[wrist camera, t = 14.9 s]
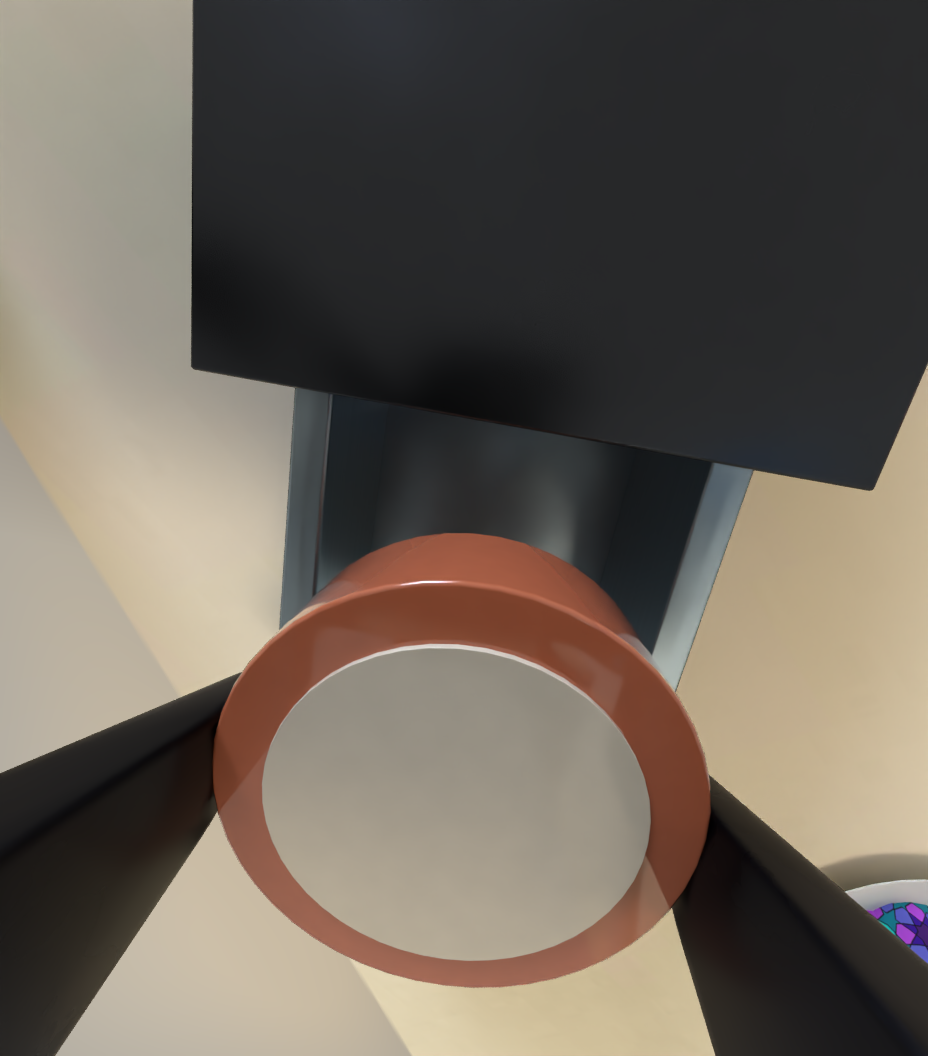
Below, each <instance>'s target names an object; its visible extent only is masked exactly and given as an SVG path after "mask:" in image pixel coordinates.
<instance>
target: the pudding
mask: <svg viewBox="0 0 928 1056" xmlns="http://www.w3.org/2000/svg"><path fill="white" fill-rule="evenodd" d="M845 893H847V894H848V895H849V896H850V897H851V898H852V899H854V900H855V901H856V902H857V903H858V904H859V905H861V906H862V907H863V908H864V909H865V910H866V911H868V912H869V913H870V914H871V915H872V916H873V917H874V918H876V919H877V920H878V921H879V922H880V923H881V924H883V925H884V926H885V927H886V928H887V929H888V930H890V931H891V932H892V933H893V934H894V935H895V936H897V937H898V938H899V939H900V940H901V941H902V942H903V943H905V944H906V945H907V946H908V947H909V948H910V949H912V950H913V951H914V952H915V953H916V954H917V955H919V956H920V957H921V958H922V959H923V960H924V961H926V962H927V963H928V880H898V881H891V882H883V883H876V884H871V885H867V886H863V887H859V888H856V889H852V890H848V891H845Z"/></svg>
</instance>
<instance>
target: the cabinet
mask: <svg viewBox="0 0 928 1056" xmlns="http://www.w3.org/2000/svg"><path fill="white" fill-rule="evenodd" d="M927 364H928V0H193V75H192V306H191V367H192V368H193V369H195V370H200V371H206V372H211V373H217V374H222V375H228V376H233V377H239V378H244V379H250V380H256V381H261V382H267V383H272V384H278V385H283V386H289V387H294V388H300V389H306V390H311V391H317V392H322V393H328V394H333V395H339V396H345V397H350V398H356V399H361V400H367V401H372V402H378V403H383V404H389V405H395V406H400V407H406V408H411V409H417V410H422V411H428V412H433V413H439V414H445V415H450V416H456V417H461V418H467V419H472V420H478V421H484V422H489V423H495V424H500V425H506V426H511V427H517V428H522V429H528V430H534V431H539V432H545V433H550V434H556V435H561V436H567V437H572V438H578V439H584V440H589V441H595V442H600V443H606V444H611V445H617V446H622V447H628V448H634V449H639V450H645V451H650V452H656V453H661V454H667V455H673V456H678V457H684V458H689V459H695V460H700V461H706V462H711V463H717V464H723V465H728V466H734V467H739V468H745V469H750V470H756V471H761V472H767V473H773V474H778V475H784V476H789V477H795V478H800V479H806V480H812V481H817V482H823V483H828V484H834V485H839V486H845V487H850V488H856V489H862V490H867V491H870V490H873V489H874V487H875V485H876V483H877V480H878V478H879V476H880V473H881V471H882V469H883V466H884V464H885V462H886V459H887V457H888V455H889V452H890V450H891V448H892V446H893V443H894V441H895V439H896V436H897V434H898V432H899V429H900V427H901V425H902V422H903V420H904V418H905V415H906V413H907V411H908V408H909V406H910V404H911V401H912V399H913V397H914V394H915V392H916V390H917V388H918V385H919V383H920V381H921V378H922V376H923V374H924V371H925V369H926V367H927Z"/></svg>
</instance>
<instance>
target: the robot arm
mask: <svg viewBox="0 0 928 1056" xmlns="http://www.w3.org/2000/svg"><path fill="white" fill-rule="evenodd" d="M241 673H242V672H241ZM241 673H238V674H235V675H233V676H231V677H228V678H226V679H224V680H221V681H219V682H216V683H214V684H212V685H209V686H207V687H204V688H202V689H200V690H197V691H195V692H193V693H190V694H188V695H185V696H183V697H181V698H178V699H176V700H174V701H171V702H169V703H167V704H164V705H162V706H159V707H157V708H155V709H152V710H150V711H148V712H145V713H143V714H141V715H138V716H136V717H134V718H131V719H128V720H126V721H124V722H121V723H119V724H117V725H114V726H112V727H110V728H107V729H105V730H102V731H100V732H97V733H95V734H93V735H91V736H88V737H86V738H83V739H81V740H78V741H76V742H74V743H71V744H69V745H67V746H64V747H62V748H59V749H57V750H55V751H53V752H50V753H48V754H45V755H43V756H40V757H38V758H36V759H33V760H31V761H28V762H26V763H24V764H21V765H19V766H17V767H14V768H12V769H10V770H7V771H5V772H2V773H0V1056H55V1055H56V1054H57V1052H58V1050H59V1049H60V1047H61V1046H62V1045H63V1043H64V1042H65V1040H66V1038H67V1037H68V1036H69V1034H70V1033H71V1031H72V1030H73V1028H74V1027H75V1025H76V1024H77V1022H78V1021H79V1019H80V1018H81V1016H82V1015H83V1013H84V1012H85V1010H86V1009H87V1007H88V1006H89V1004H90V1003H91V1001H92V1000H93V998H94V997H95V995H96V994H97V992H98V991H99V989H100V988H101V986H102V985H103V983H104V982H105V980H106V979H107V977H108V976H109V974H110V973H111V972H112V970H113V968H114V967H115V966H116V964H117V963H118V961H119V959H120V958H121V957H122V955H123V954H124V952H125V951H126V949H127V948H128V946H129V945H130V943H131V942H132V940H133V938H134V937H135V936H136V934H137V933H138V931H139V930H140V928H141V927H142V925H143V924H144V922H145V921H146V919H147V918H148V916H149V915H150V913H151V912H152V910H153V909H154V907H155V906H156V904H157V903H158V901H159V900H160V898H161V897H162V895H163V894H164V892H165V891H166V889H167V888H168V886H169V885H170V883H171V882H172V880H173V879H174V877H175V876H176V874H177V873H178V871H179V870H180V869H181V867H182V866H183V864H184V863H185V861H186V859H187V858H188V857H189V855H190V854H191V852H192V851H193V849H194V847H195V846H196V845H197V843H198V841H199V840H200V839H201V837H202V835H203V834H204V832H205V831H206V829H207V827H208V826H209V825H210V823H211V821H212V820H213V818H214V816H215V814H216V813H217V806H216V801H215V797H214V792H213V747H214V738H215V734H216V730H217V727H218V723H219V719H220V716H221V712H222V709H223V707H224V705H225V702H226V700H227V698H228V696H229V694H230V691H231V689H232V687H233V685H234V684H235V682H236V681H237V679H238V678H239V676H240V675H241ZM708 775H709V774H708ZM709 780H710V809H711V813H710V820H709V827H708V833H707V840H706V843H705V846H704V849H703V852H702V855H701V857H700V860H699V862H698V865H697V867H696V869H695V872H694V874H693V876H692V878H691V880H690V882H689V884H688V886H687V888H686V889H685V891H684V892H683V893H682V895H681V896H680V897H679V899H678V900H677V901H676V903H675V904H674V906H673V907H672V909H673V914H674V918H675V922H676V925H677V929H678V932H679V936H680V940H681V943H682V946H683V950H684V953H685V956H686V959H687V963H688V966H689V969H690V973H691V976H692V979H693V983H694V986H695V989H696V993H697V996H698V999H699V1003H700V1006H701V1009H702V1013H703V1016H704V1019H705V1022H706V1026H707V1029H708V1032H709V1036H710V1039H711V1042H712V1046H713V1049H714V1052H715V1056H928V963H927V962H926V961H924V960H923V959H922V958H921V957H920V956H919V955H917V954H916V953H915V952H914V951H913V950H912V949H910V948H909V947H908V946H907V945H906V944H905V943H903V942H902V941H901V940H900V939H899V938H898V937H897V936H895V935H894V934H893V933H892V932H891V931H890V930H888V929H887V928H886V927H885V926H884V925H883V924H881V923H880V922H879V921H878V920H877V919H876V918H874V917H873V916H872V915H871V914H870V913H869V912H868V911H866V910H865V909H864V908H863V907H862V906H861V905H859V904H858V903H857V902H856V901H855V900H854V899H852V898H851V897H850V896H849V895H848V894H847V893H845V892H844V891H843V890H842V889H841V888H840V887H839V886H837V885H836V884H835V883H834V882H833V881H832V880H830V879H829V878H828V877H827V876H826V875H825V874H823V873H822V872H821V871H820V870H819V869H818V868H817V867H815V866H814V865H813V864H812V863H811V862H810V861H808V860H807V859H806V858H805V857H804V856H803V855H801V854H800V853H799V852H798V851H797V850H796V849H794V848H793V847H792V846H791V845H790V844H789V843H788V842H786V841H785V840H784V839H783V838H782V837H781V836H779V835H778V834H777V833H776V832H775V831H774V830H772V829H771V828H770V827H769V826H768V825H767V824H765V823H764V822H763V821H762V820H761V819H760V818H759V817H757V816H756V815H755V814H754V813H753V812H752V811H750V810H749V809H748V808H747V807H746V806H745V805H743V804H742V803H741V802H740V801H739V800H738V799H736V798H735V797H734V796H733V795H732V794H731V793H730V792H728V791H727V790H726V789H725V788H724V787H723V786H721V785H720V784H719V783H718V782H717V781H716V780H714V779H713V778H712V777H711V776H710V775H709Z"/></svg>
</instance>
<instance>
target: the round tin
mask: <svg viewBox="0 0 928 1056" xmlns="http://www.w3.org/2000/svg"><path fill="white" fill-rule="evenodd" d="M213 792H214V797H215V801H216V806H217V811H218V815H219V818H220V821H221V823H222V826H223V829H224V832H225V835H226V837H227V840H228V842H229V844H230V845H231V847H232V849H233V851H234V853H235V855H236V857H237V859H238V861H239V862H240V864H241V865H242V867H243V868H244V870H245V871H246V873H247V874H248V875H249V877H250V878H251V880H252V881H253V882H254V884H255V885H256V886H257V887H258V889H259V890H260V891H261V892H262V893H263V894H264V895H265V896H266V898H267V899H268V900H269V901H270V902H271V903H272V904H273V905H274V906H275V907H276V908H277V909H278V910H279V911H281V912H282V913H283V914H284V915H285V916H286V917H287V918H288V919H289V920H291V922H293V923H294V924H296V925H297V926H298V927H300V928H301V929H302V930H304V931H305V932H306V933H308V934H309V935H310V936H312V937H313V938H315V939H316V940H318V941H320V942H322V943H323V944H325V945H327V946H328V947H330V948H332V949H333V950H335V951H337V952H339V953H341V954H343V955H345V956H347V957H349V958H351V959H353V960H355V961H358V962H360V963H362V964H364V965H367V966H370V967H373V968H375V969H378V970H381V971H383V972H386V973H389V974H393V975H397V976H400V977H404V978H408V979H412V980H415V981H421V982H427V983H432V984H438V985H445V986H457V987H469V988H488V987H508V986H517V985H527V984H532V983H537V982H542V981H547V980H552V979H556V978H559V977H562V976H565V975H569V974H572V973H575V972H578V971H581V970H584V969H586V968H588V967H590V966H593V965H595V964H597V963H599V962H602V961H604V960H606V959H608V958H610V957H611V956H613V955H615V954H617V953H618V952H620V951H622V950H623V949H625V948H627V947H628V946H630V945H631V944H633V943H634V942H635V941H637V940H638V939H639V938H641V937H642V936H643V935H644V934H646V933H647V932H648V931H650V930H651V929H652V928H653V927H654V926H655V925H656V924H657V923H658V922H659V921H660V920H661V919H662V918H663V917H664V916H665V915H666V914H667V913H668V912H669V911H670V910H671V908H672V907H673V906H674V904H675V903H676V901H677V900H678V899H679V897H680V896H681V895H682V893H683V892H684V891H685V889H686V888H687V886H688V884H689V882H690V880H691V878H692V876H693V874H694V872H695V869H696V867H697V865H698V862H699V860H700V857H701V855H702V852H703V849H704V846H705V843H706V840H707V833H708V827H709V820H710V813H711V809H710V780H709V775H708V769H707V764H706V759H705V754H704V751H703V748H702V745H701V743H700V740H699V737H698V734H697V732H696V729H695V726H694V724H693V722H692V720H691V719H690V717H689V715H688V713H687V711H686V710H685V708H684V706H683V704H682V703H681V701H680V699H679V697H678V696H677V694H676V693H675V691H674V689H673V688H672V686H671V685H670V683H669V682H668V680H667V679H666V677H665V676H664V674H663V672H662V671H661V669H660V668H659V666H658V665H657V663H656V662H655V660H654V659H653V657H652V655H651V654H650V652H649V651H648V649H647V648H646V646H645V645H644V643H643V642H642V640H641V638H640V637H639V635H638V634H637V632H636V631H635V629H634V628H633V626H632V625H631V623H630V621H629V620H628V618H627V617H626V616H625V615H624V613H623V612H622V611H621V609H620V608H619V607H618V606H617V604H616V603H615V602H614V600H613V599H612V598H611V597H610V596H609V595H608V594H607V593H606V592H605V591H604V590H603V589H602V588H600V587H599V586H598V585H597V584H596V583H595V582H594V581H593V580H592V579H590V578H589V577H587V576H586V575H585V574H583V573H582V572H581V571H579V570H578V569H577V568H575V567H574V566H572V565H570V564H569V563H567V562H565V561H563V560H561V559H560V558H558V557H556V556H554V555H552V554H551V553H548V552H546V551H543V550H541V549H538V548H536V547H533V546H531V545H528V544H525V543H522V542H518V541H514V540H510V539H506V538H502V537H498V536H490V535H482V534H474V533H443V534H435V535H428V536H420V537H415V538H412V539H408V540H404V541H400V542H397V543H393V544H391V545H388V546H386V547H383V548H381V549H379V550H376V551H374V552H371V553H369V554H368V555H366V556H364V557H362V558H361V559H359V560H357V561H356V562H354V563H352V564H350V565H349V566H348V567H346V568H345V569H344V570H343V571H341V572H340V573H339V574H338V575H336V576H335V577H334V578H333V579H331V580H330V581H329V582H328V583H327V584H326V585H325V586H324V587H323V588H322V589H321V590H320V591H319V592H318V593H317V594H316V595H315V596H314V597H313V598H312V599H311V600H310V601H309V602H308V603H307V604H306V605H305V606H304V607H303V608H302V609H301V610H300V611H299V612H298V613H296V614H295V615H294V616H293V617H292V618H291V619H290V620H289V621H288V622H287V623H286V624H285V625H284V626H283V627H282V628H281V629H280V630H279V631H278V632H277V633H276V634H275V635H274V636H273V637H272V638H271V639H270V640H269V641H268V642H267V643H266V644H265V645H264V646H263V647H262V649H261V650H260V651H259V652H258V653H257V654H256V655H255V656H254V657H253V658H252V659H251V660H250V661H249V663H248V664H247V666H246V667H245V669H244V670H243V672H242V673H241V675H240V676H239V678H238V679H237V681H236V682H235V684H234V685H233V687H232V689H231V691H230V694H229V696H228V698H227V700H226V702H225V705H224V707H223V709H222V712H221V716H220V719H219V723H218V727H217V730H216V734H215V738H214V747H213Z"/></svg>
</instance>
